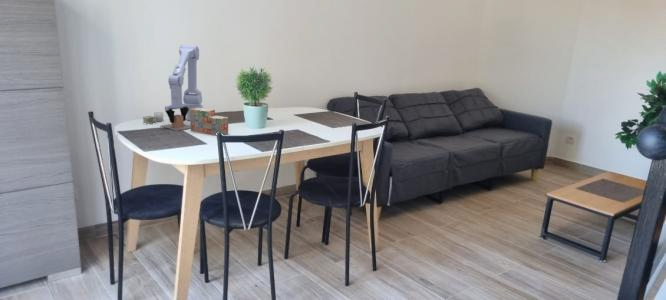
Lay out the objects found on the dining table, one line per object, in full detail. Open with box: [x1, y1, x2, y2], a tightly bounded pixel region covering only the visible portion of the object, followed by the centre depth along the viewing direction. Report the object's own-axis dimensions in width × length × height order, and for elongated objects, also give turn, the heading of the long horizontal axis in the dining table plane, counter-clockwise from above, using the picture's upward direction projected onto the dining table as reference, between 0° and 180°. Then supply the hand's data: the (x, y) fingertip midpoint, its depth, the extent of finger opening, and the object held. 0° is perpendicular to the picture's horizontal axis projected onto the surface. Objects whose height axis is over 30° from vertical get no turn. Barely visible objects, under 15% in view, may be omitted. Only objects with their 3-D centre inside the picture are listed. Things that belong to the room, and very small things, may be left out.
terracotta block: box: [171, 114, 185, 127], centre depth 266 cm, size 4×4×6 cm
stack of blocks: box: [189, 107, 229, 136], centre depth 255 cm, size 21×6×12 cm, turn 62°
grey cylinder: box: [153, 111, 165, 123], centre depth 280 cm, size 5×5×5 cm
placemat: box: [160, 123, 191, 132], centre depth 267 cm, size 12×16×1 cm
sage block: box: [142, 115, 157, 125], centre depth 274 cm, size 5×5×4 cm
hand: (177, 121), depth 266 cm, fingers open, 7 cm apart
